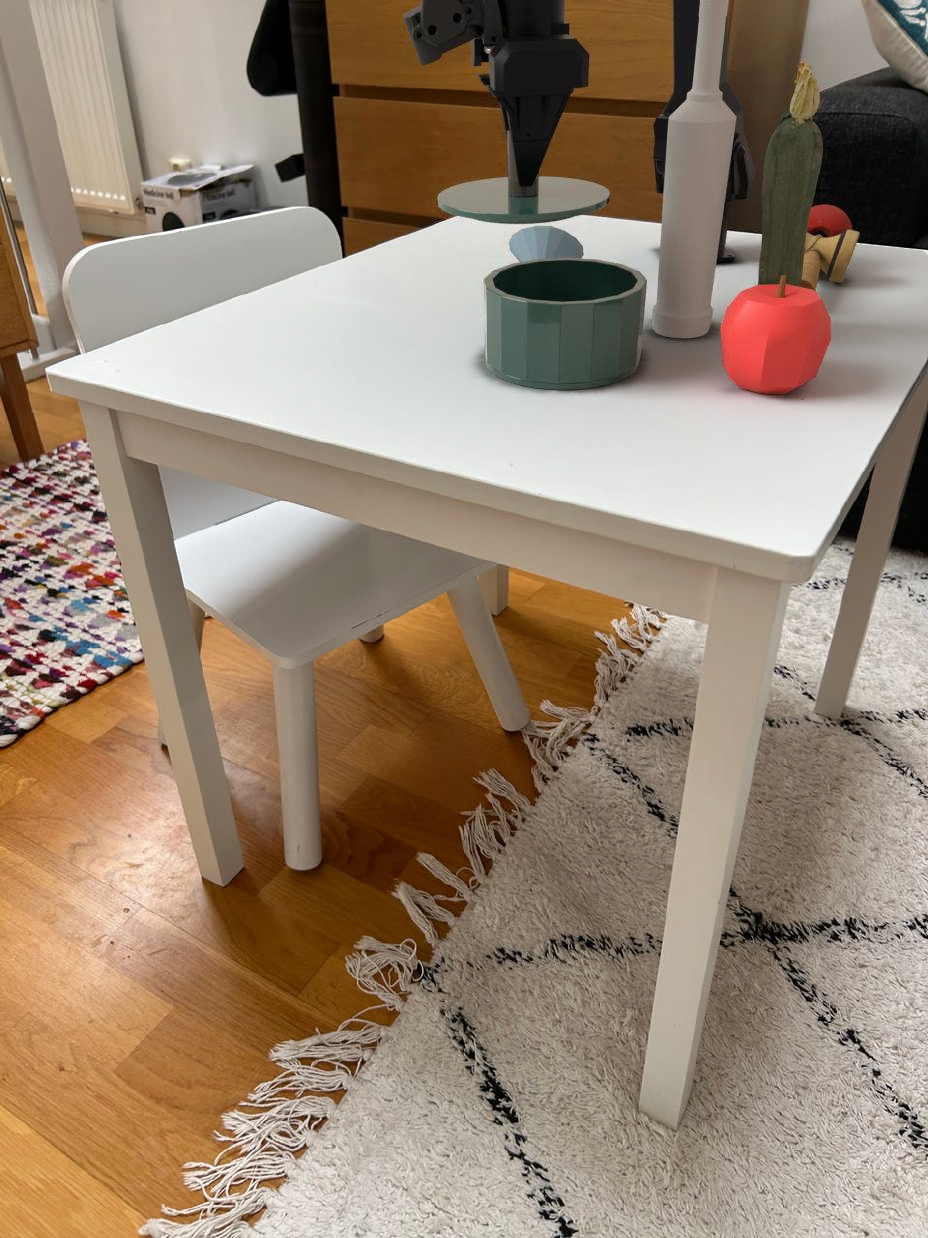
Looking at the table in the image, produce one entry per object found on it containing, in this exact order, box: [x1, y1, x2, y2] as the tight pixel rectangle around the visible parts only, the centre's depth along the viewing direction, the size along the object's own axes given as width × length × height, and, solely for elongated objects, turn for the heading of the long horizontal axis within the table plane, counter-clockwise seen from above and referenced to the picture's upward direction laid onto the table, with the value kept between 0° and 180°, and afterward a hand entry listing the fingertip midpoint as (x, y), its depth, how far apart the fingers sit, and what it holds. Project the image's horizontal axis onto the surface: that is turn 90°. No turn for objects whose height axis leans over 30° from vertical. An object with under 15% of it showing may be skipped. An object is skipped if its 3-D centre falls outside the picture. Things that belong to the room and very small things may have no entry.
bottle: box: [651, 0, 736, 339], centre depth 76 cm, size 5×5×25 cm
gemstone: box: [508, 225, 585, 263], centre depth 96 cm, size 8×8×5 cm
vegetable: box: [757, 59, 824, 287], centre depth 78 cm, size 4×4×20 cm
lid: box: [436, 130, 611, 225], centre depth 73 cm, size 13×13×6 cm
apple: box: [719, 275, 832, 395], centre depth 71 cm, size 8×8×8 cm
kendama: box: [800, 204, 860, 293], centre depth 92 cm, size 8×6×18 cm
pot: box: [483, 258, 648, 391], centre depth 76 cm, size 12×12×6 cm
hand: (523, 182), depth 74 cm, fingers closed on lid, 2 cm apart
